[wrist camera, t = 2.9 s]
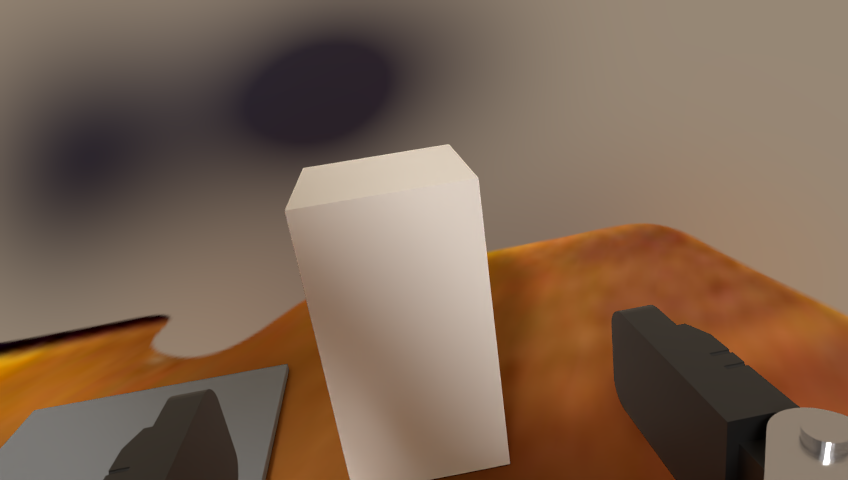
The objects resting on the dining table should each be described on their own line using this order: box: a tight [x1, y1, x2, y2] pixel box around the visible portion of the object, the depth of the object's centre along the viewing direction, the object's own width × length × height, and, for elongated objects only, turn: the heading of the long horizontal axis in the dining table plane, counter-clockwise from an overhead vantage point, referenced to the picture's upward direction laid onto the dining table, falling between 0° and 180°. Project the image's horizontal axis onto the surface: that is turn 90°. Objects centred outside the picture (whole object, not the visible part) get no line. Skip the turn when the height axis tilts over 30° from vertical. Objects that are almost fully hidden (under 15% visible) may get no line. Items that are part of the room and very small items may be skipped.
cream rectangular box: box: [285, 144, 510, 480], centre depth 23 cm, size 6×6×12 cm
